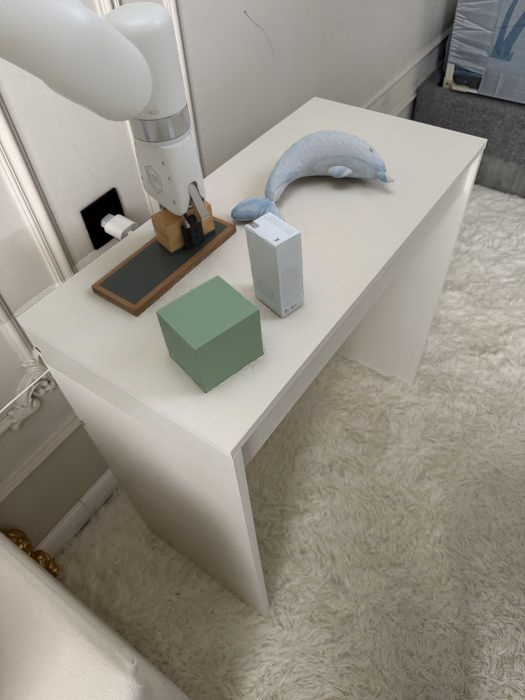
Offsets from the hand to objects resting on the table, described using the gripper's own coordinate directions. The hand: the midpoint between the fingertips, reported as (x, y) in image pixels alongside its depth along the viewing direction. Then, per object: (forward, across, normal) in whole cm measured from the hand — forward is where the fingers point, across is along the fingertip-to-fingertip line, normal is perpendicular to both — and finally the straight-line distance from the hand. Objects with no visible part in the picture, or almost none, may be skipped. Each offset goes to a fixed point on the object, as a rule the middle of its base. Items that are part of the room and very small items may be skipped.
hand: (186, 236), depth 80 cm
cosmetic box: (+2, +19, +2) cm, 19 cm away
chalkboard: (+1, +1, -4) cm, 5 cm away
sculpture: (+2, +6, +22) cm, 22 cm away
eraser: (0, 0, 0) cm, 0 cm away
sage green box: (+1, +21, -10) cm, 23 cm away
